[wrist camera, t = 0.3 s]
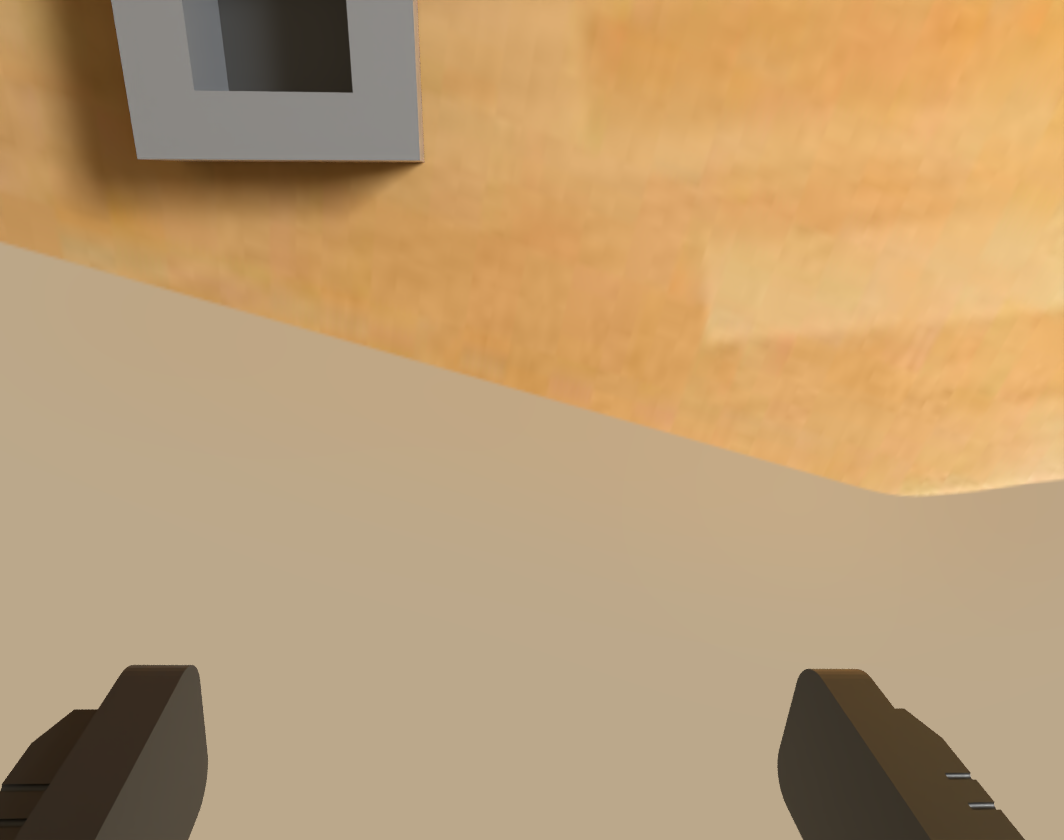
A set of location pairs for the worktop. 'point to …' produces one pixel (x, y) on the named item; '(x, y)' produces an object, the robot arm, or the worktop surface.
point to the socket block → (272, 79)
